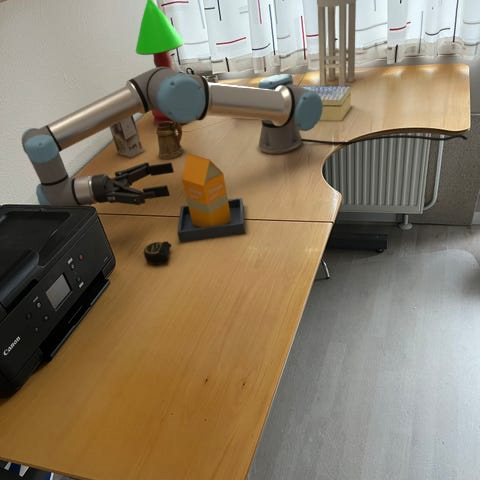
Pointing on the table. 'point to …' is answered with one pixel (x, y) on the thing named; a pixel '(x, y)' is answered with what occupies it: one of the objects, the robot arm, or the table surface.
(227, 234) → the tray
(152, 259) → the tape measure
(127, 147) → the coffee box
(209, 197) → the orange juice
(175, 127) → the wooden mug
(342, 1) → the stool
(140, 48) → the table lamp
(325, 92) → the pale yellow long box
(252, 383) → the table surface
